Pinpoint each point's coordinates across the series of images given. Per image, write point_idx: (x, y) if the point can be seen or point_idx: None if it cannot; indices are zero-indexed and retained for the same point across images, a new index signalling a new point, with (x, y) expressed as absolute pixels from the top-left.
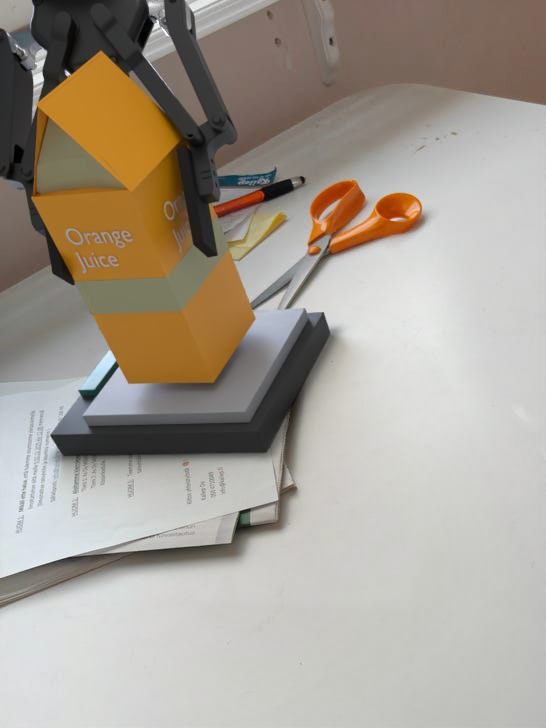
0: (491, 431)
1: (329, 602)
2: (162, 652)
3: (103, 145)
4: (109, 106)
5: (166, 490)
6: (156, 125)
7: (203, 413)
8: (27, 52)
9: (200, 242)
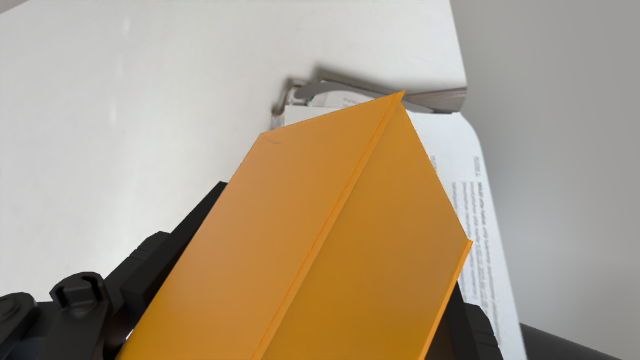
0: (138, 107)
1: (273, 14)
2: (366, 15)
3: (261, 173)
4: (186, 329)
5: None
6: (132, 357)
7: None
8: None
9: (223, 183)
